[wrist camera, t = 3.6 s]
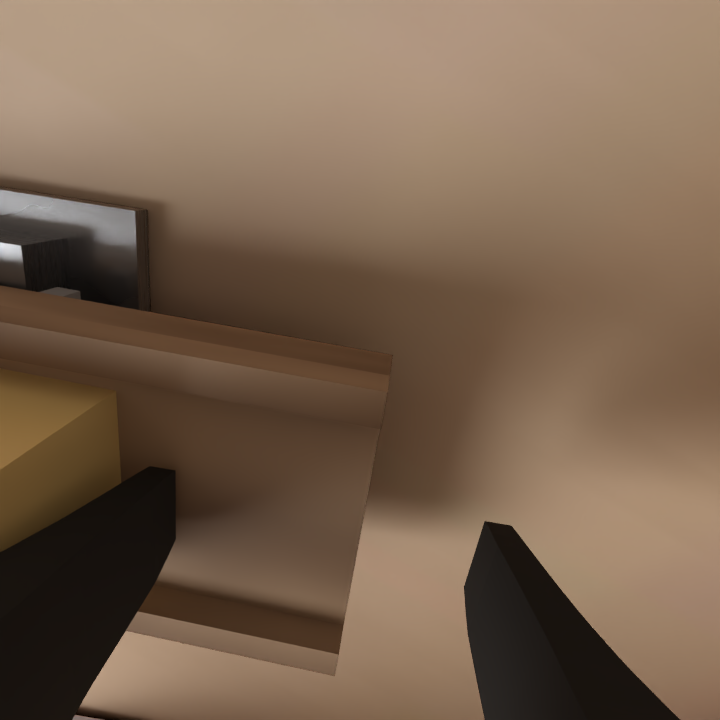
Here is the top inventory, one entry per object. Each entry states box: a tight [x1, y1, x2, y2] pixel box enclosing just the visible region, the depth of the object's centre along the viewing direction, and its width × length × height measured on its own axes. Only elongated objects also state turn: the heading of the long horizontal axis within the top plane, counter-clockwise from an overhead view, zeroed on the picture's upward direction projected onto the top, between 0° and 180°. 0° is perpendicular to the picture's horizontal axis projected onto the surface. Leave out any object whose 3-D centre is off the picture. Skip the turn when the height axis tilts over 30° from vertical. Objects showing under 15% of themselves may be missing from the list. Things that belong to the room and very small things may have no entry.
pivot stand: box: [0, 187, 150, 312], centre depth 13 cm, size 12×8×2 cm, turn 172°
